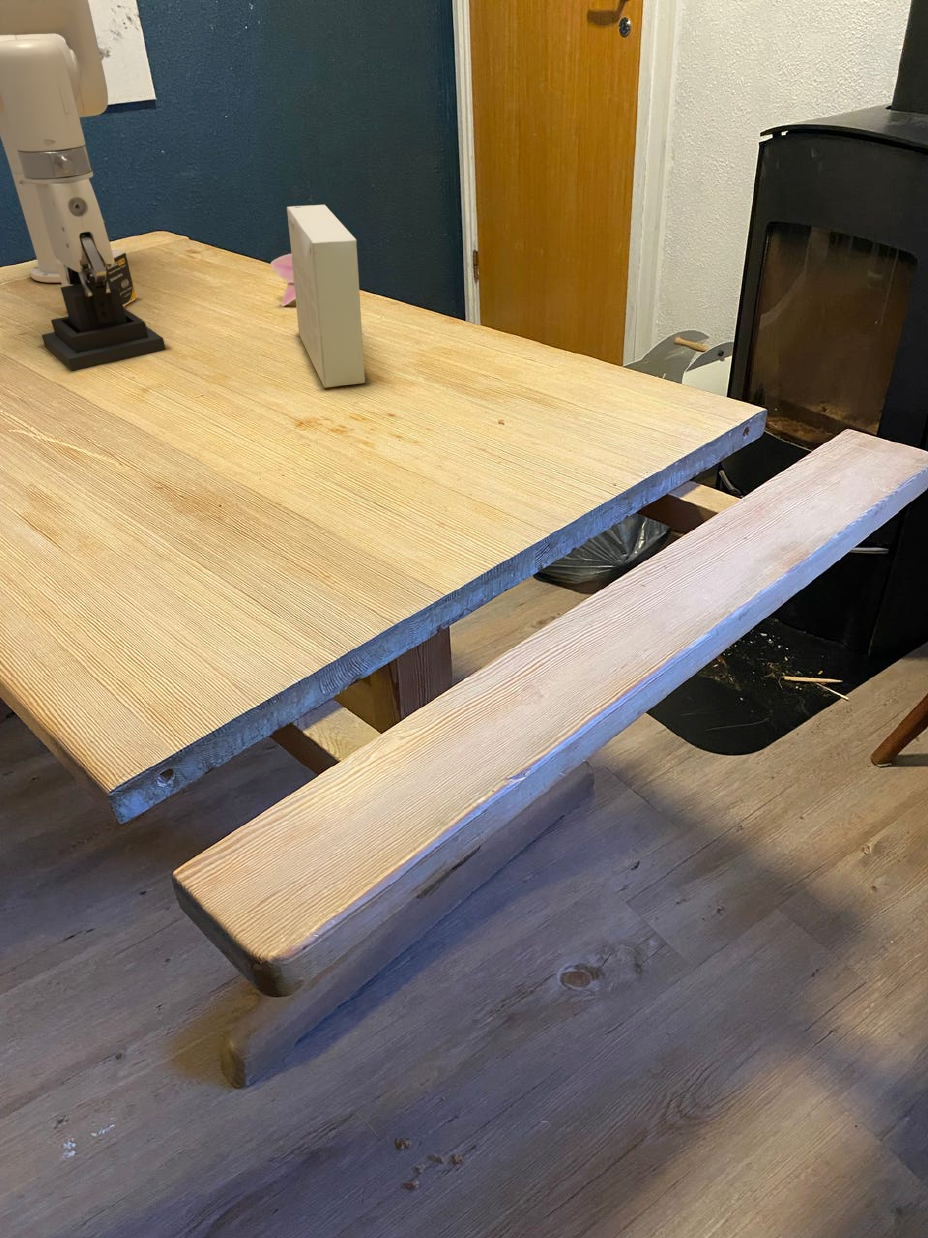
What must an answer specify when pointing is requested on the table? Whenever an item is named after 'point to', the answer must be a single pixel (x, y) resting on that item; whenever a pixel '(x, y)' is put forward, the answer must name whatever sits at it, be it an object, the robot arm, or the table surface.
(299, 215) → the skincare box
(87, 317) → the black block
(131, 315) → the base pad
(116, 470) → the table surface
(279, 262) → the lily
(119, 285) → the medicine bottle
